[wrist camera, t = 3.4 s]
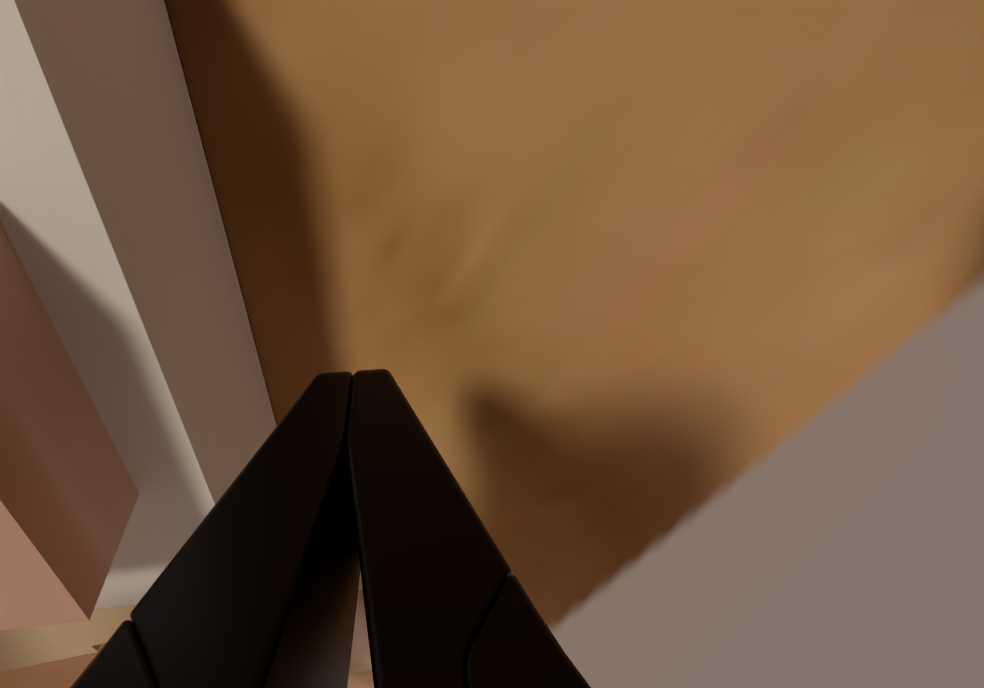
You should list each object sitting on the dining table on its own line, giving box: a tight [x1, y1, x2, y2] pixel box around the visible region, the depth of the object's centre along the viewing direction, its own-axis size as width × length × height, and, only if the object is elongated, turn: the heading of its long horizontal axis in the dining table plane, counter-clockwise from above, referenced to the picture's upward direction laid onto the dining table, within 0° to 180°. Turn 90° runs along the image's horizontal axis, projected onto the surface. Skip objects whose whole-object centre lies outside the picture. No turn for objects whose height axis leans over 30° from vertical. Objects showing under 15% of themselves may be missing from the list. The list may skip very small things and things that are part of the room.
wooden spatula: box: [0, 571, 363, 672], centre depth 17 cm, size 15×4×1 cm, turn 98°
